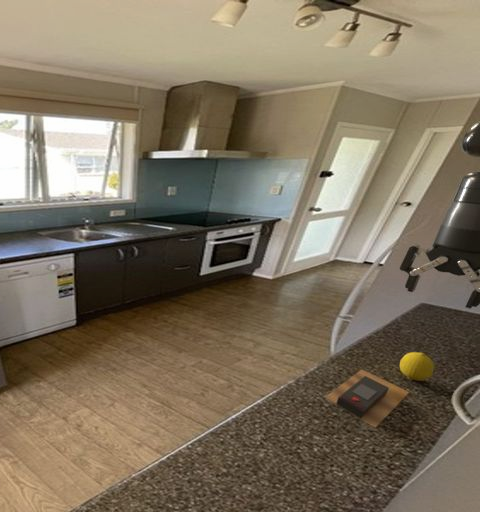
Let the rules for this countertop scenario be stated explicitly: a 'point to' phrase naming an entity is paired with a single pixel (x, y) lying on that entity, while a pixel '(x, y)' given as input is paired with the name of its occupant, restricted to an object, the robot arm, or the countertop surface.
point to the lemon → (416, 366)
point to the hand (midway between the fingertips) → (438, 298)
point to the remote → (362, 396)
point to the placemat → (380, 408)
